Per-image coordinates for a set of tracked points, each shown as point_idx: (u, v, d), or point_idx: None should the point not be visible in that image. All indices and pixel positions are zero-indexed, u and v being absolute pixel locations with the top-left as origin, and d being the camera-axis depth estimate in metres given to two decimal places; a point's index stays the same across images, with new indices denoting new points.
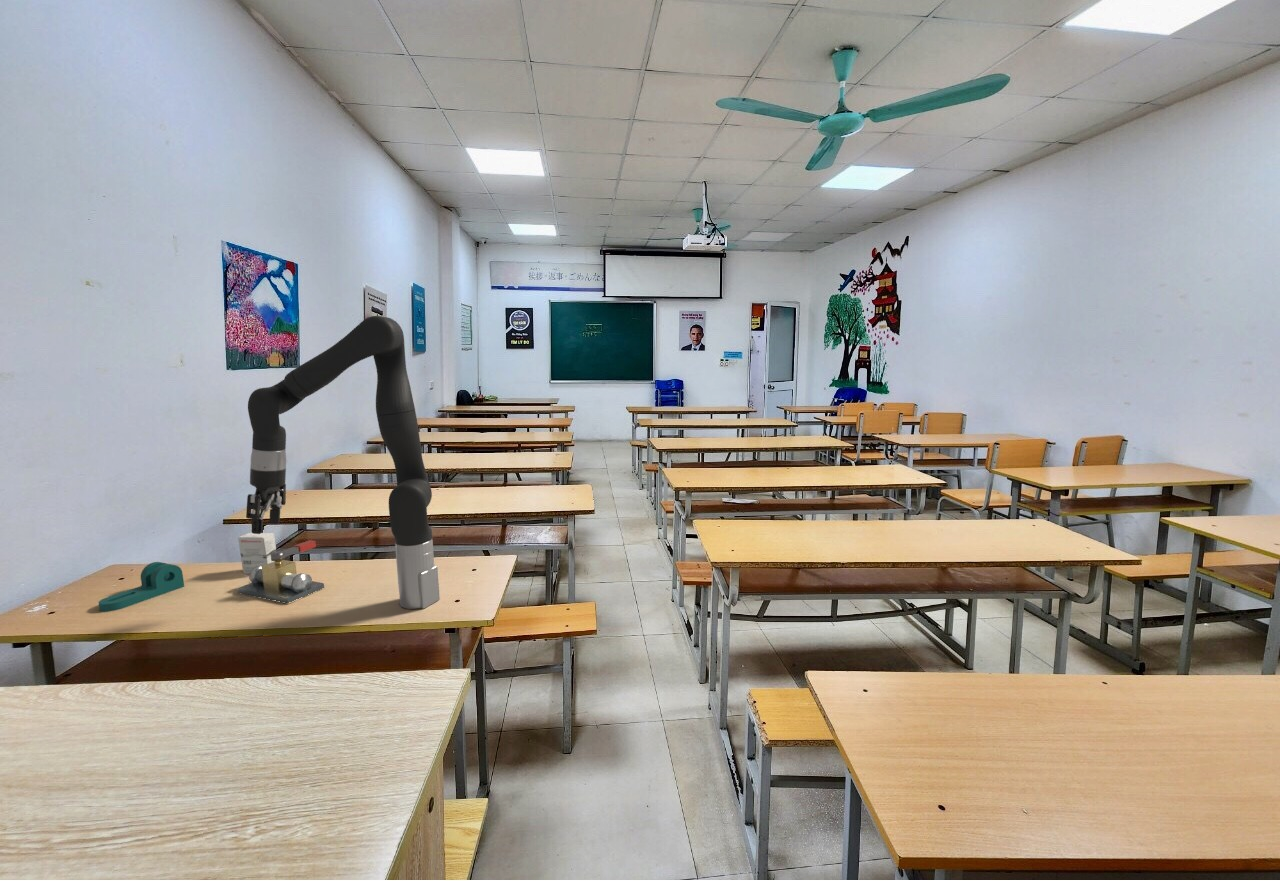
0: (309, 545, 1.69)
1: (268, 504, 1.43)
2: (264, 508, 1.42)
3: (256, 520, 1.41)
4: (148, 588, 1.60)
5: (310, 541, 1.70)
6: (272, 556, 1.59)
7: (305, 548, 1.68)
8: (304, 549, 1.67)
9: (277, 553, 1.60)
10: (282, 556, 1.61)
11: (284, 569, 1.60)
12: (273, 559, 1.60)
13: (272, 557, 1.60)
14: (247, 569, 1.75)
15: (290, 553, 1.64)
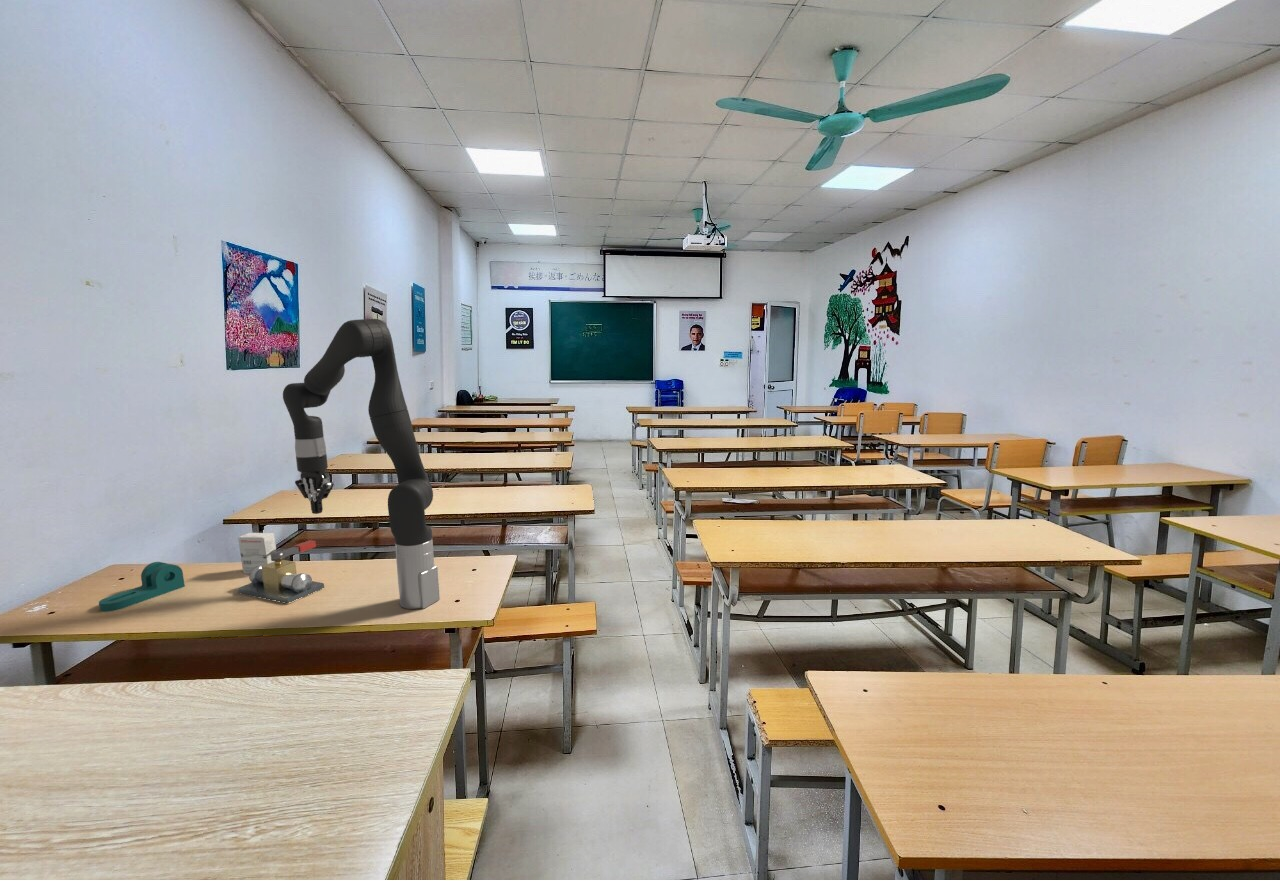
0: (309, 545, 1.69)
1: (306, 487, 1.62)
2: None
3: None
4: (149, 588, 1.60)
5: (310, 541, 1.70)
6: (272, 556, 1.59)
7: (305, 548, 1.68)
8: (304, 549, 1.67)
9: (277, 553, 1.60)
10: (282, 556, 1.61)
11: (284, 569, 1.60)
12: (273, 559, 1.60)
13: (272, 557, 1.60)
14: (247, 569, 1.75)
15: (290, 553, 1.64)
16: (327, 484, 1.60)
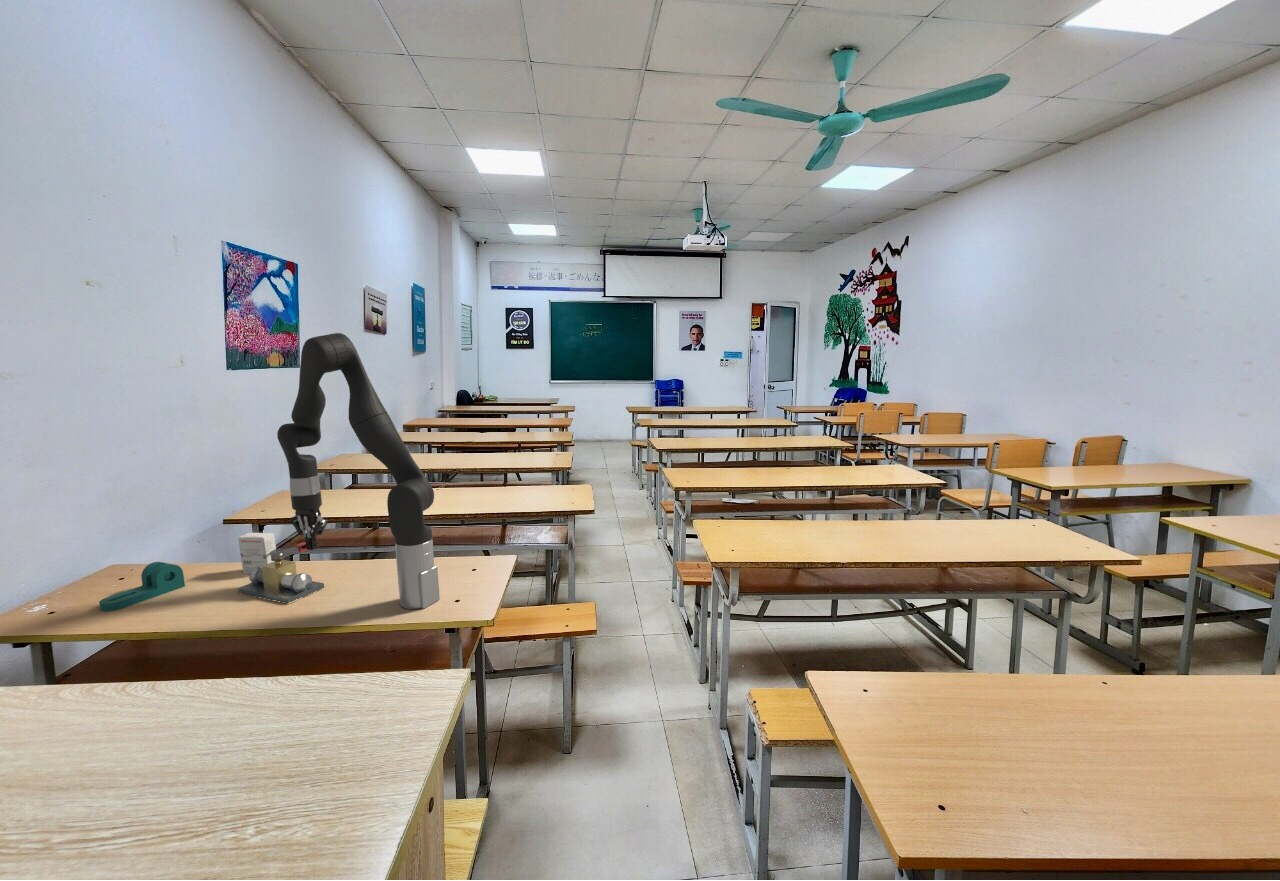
0: None
1: (300, 525, 1.66)
2: None
3: None
4: (149, 588, 1.60)
5: None
6: (272, 556, 1.59)
7: (305, 548, 1.68)
8: (304, 549, 1.67)
9: (277, 553, 1.60)
10: (282, 556, 1.61)
11: (284, 569, 1.60)
12: (273, 559, 1.60)
13: (272, 557, 1.60)
14: (247, 569, 1.75)
15: (290, 553, 1.64)
16: (321, 522, 1.64)
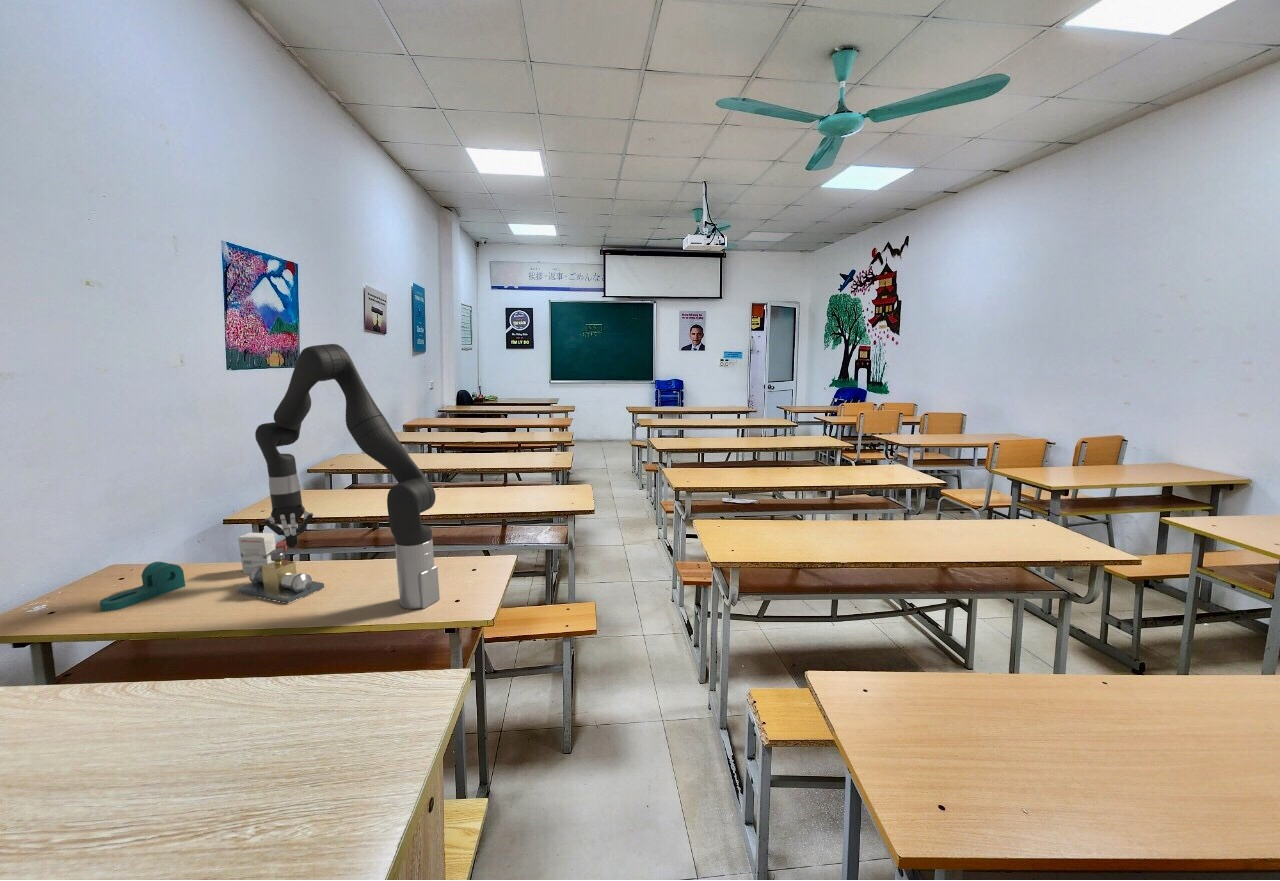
0: None
1: (283, 524, 1.67)
2: (283, 528, 1.67)
3: None
4: (150, 588, 1.60)
5: (282, 541, 1.70)
6: (277, 556, 1.60)
7: (286, 547, 1.68)
8: (286, 548, 1.68)
9: (279, 552, 1.61)
10: None
11: (284, 569, 1.60)
12: (278, 558, 1.60)
13: (277, 557, 1.60)
14: (247, 569, 1.75)
15: None
16: (312, 515, 1.70)
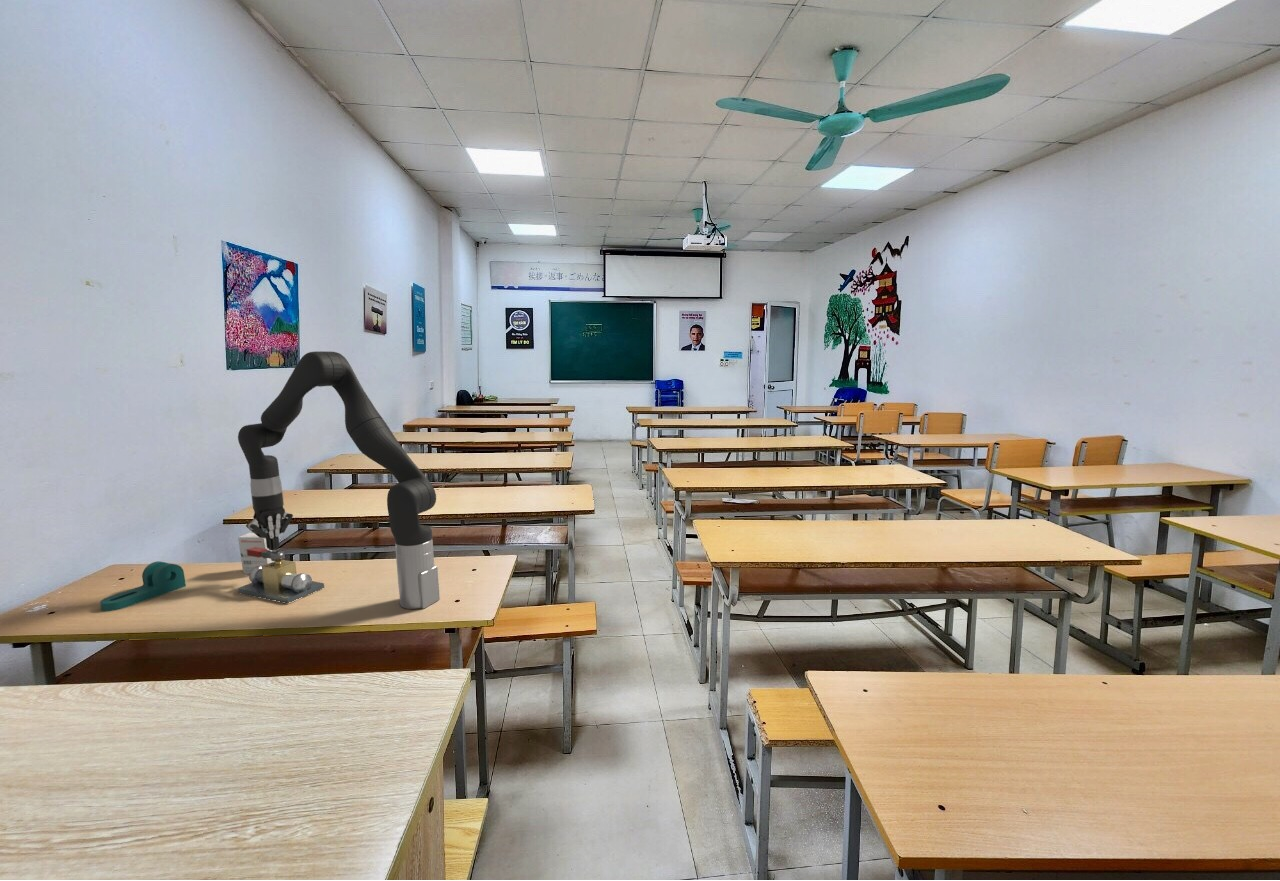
0: None
1: (270, 525, 1.66)
2: (268, 530, 1.66)
3: (267, 539, 1.67)
4: (150, 588, 1.60)
5: (253, 548, 1.65)
6: (281, 555, 1.61)
7: None
8: None
9: (279, 552, 1.61)
10: None
11: (284, 569, 1.60)
12: (282, 557, 1.61)
13: (281, 556, 1.61)
14: (247, 569, 1.75)
15: None
16: None
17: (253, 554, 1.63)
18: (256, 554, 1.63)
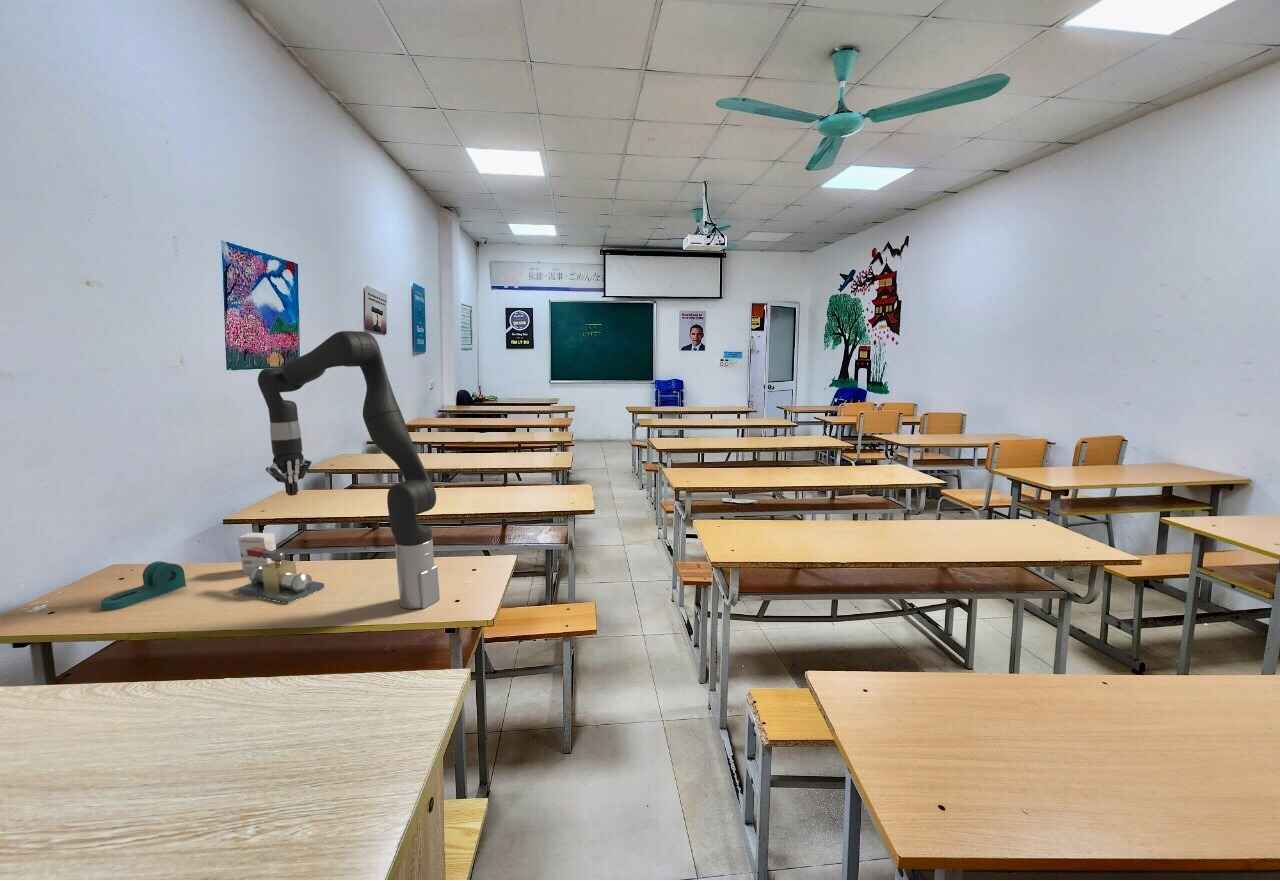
0: None
1: (289, 470, 1.67)
2: (287, 475, 1.67)
3: (286, 483, 1.68)
4: (150, 588, 1.60)
5: (253, 548, 1.65)
6: (281, 555, 1.61)
7: None
8: None
9: (279, 552, 1.61)
10: None
11: (284, 569, 1.60)
12: (282, 557, 1.61)
13: (281, 556, 1.61)
14: (247, 569, 1.75)
15: None
16: None
17: (253, 554, 1.63)
18: (256, 554, 1.63)
